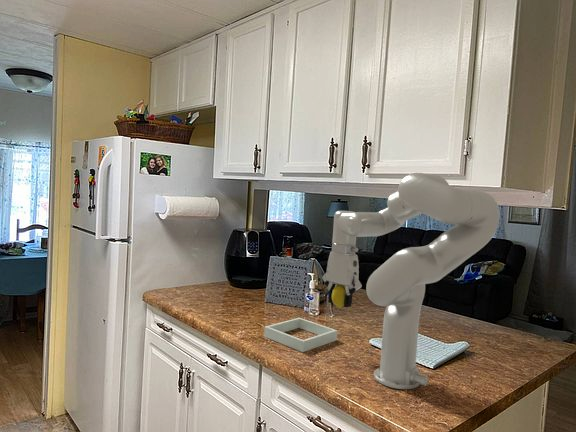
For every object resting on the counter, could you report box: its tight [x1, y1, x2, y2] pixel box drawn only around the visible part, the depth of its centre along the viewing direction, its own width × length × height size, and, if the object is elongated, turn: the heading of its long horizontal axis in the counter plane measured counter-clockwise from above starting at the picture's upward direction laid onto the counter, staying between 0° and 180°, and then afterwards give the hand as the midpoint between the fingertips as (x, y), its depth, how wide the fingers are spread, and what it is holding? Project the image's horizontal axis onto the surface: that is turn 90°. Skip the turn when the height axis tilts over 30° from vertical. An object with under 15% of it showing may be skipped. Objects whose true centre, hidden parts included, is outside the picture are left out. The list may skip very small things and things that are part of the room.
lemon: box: [332, 284, 346, 309], centre depth 138 cm, size 6×6×8 cm
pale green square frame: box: [263, 317, 338, 353], centre depth 149 cm, size 18×18×4 cm
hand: (339, 303), depth 139 cm, fingers closed on lemon, 5 cm apart
